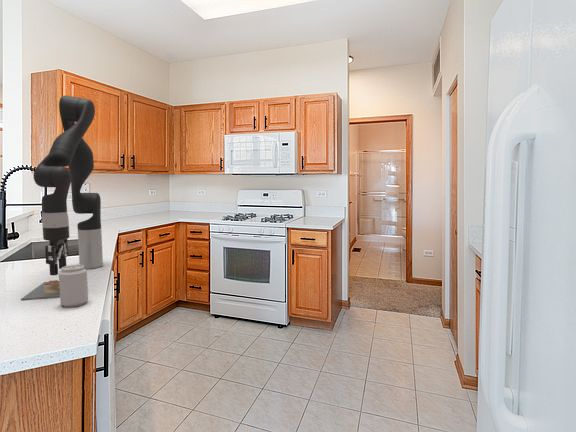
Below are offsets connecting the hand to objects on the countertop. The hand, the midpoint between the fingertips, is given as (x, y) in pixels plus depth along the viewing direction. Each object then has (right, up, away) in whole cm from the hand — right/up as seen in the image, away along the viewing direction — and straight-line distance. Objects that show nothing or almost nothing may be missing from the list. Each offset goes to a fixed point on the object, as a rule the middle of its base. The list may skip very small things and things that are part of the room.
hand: (58, 271), depth 122 cm
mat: (-3, -7, +4) cm, 8 cm away
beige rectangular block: (0, -7, 0) cm, 7 cm away
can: (+12, -9, -11) cm, 18 cm away
